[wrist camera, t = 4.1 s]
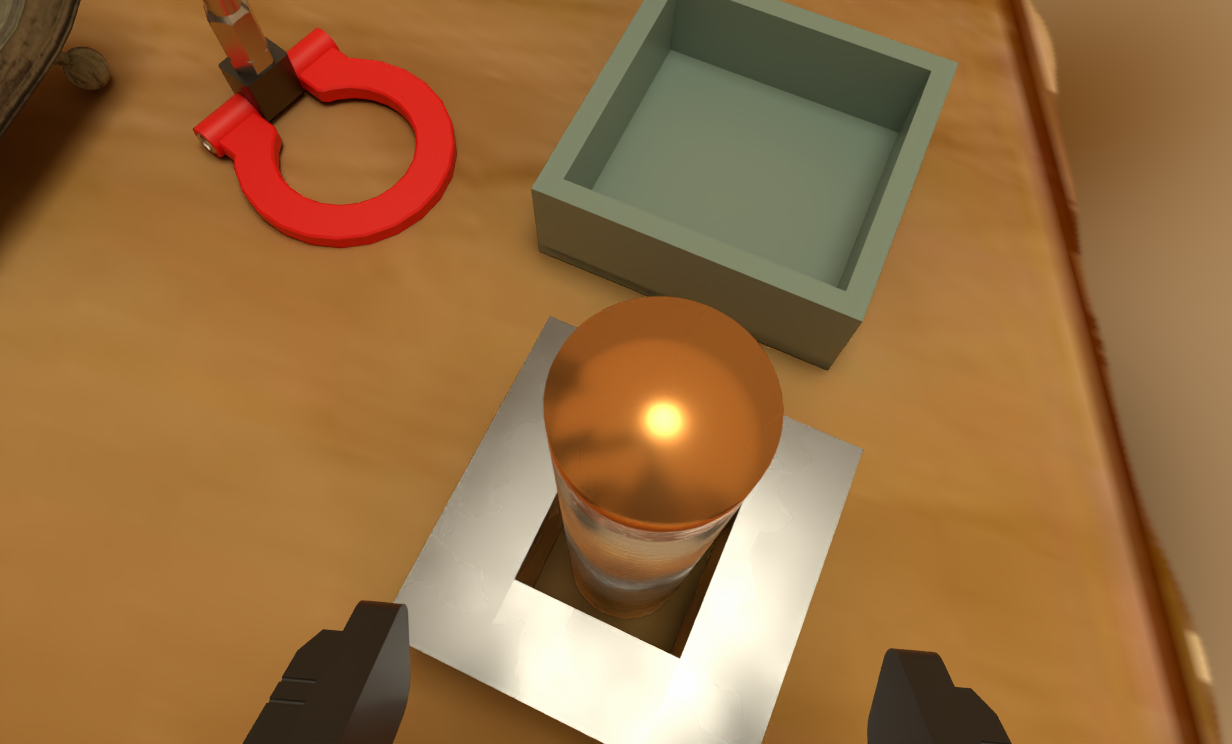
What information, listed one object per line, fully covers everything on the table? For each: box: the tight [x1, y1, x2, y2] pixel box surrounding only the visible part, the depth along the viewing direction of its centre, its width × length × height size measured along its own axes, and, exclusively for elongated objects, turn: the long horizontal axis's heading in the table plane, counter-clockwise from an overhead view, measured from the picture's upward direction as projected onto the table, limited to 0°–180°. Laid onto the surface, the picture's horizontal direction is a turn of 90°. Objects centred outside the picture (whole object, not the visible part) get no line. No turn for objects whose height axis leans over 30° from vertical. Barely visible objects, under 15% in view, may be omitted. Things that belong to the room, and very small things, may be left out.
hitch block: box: [393, 316, 863, 744], centre depth 24 cm, size 10×10×4 cm
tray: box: [531, 0, 958, 370], centre depth 29 cm, size 12×12×4 cm
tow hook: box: [193, 0, 457, 248], centre depth 26 cm, size 8×13×9 cm
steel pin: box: [543, 296, 783, 619], centre depth 19 cm, size 4×4×15 cm
